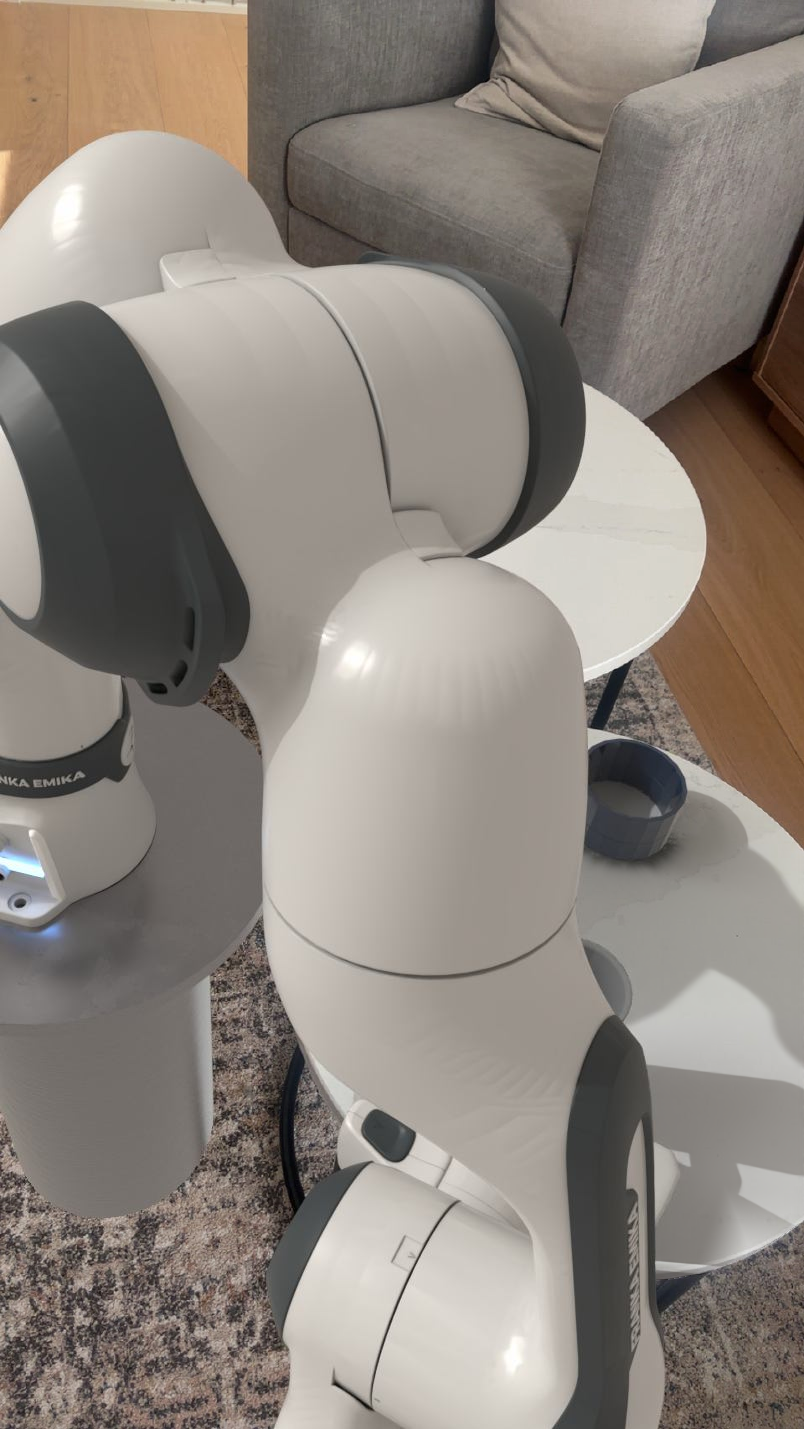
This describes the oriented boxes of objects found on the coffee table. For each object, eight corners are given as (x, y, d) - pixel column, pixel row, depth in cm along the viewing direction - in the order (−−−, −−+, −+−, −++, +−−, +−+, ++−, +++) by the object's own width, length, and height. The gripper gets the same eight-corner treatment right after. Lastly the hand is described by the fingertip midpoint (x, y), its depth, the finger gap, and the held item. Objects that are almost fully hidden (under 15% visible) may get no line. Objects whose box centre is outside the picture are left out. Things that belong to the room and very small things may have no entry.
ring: (566, 863, 92) (583, 815, 87) (559, 782, 98) (576, 733, 93) (671, 874, 92) (694, 826, 87) (657, 792, 98) (679, 744, 94)
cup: (553, 1159, 74) (608, 1056, 63) (465, 1107, 76) (503, 999, 65) (591, 1079, 78) (648, 969, 68) (506, 1031, 80) (549, 918, 69)
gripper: (650, 1297, 58) (722, 1085, 67) (321, 1104, 63) (429, 931, 72) (619, 1331, 63) (691, 1128, 71) (315, 1148, 68) (417, 980, 77)
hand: (557, 1028), depth 72 cm, fingers closed on cup, 6 cm apart
